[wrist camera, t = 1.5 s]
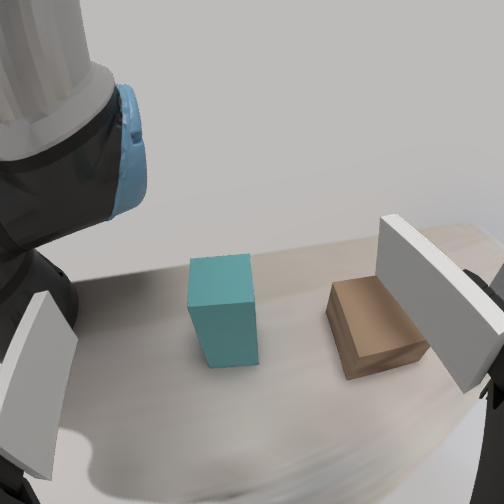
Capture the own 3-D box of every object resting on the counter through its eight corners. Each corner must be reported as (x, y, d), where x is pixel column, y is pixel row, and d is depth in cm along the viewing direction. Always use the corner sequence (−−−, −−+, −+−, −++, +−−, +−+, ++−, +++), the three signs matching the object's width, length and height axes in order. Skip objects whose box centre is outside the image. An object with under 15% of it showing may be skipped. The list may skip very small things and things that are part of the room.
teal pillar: (209, 368, 28) (187, 306, 21) (209, 327, 31) (190, 258, 24) (258, 364, 28) (254, 301, 21) (254, 323, 31) (249, 253, 24)
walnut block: (346, 381, 26) (359, 357, 23) (325, 312, 32) (332, 282, 29) (418, 361, 27) (438, 335, 23) (391, 300, 32) (404, 270, 29)
